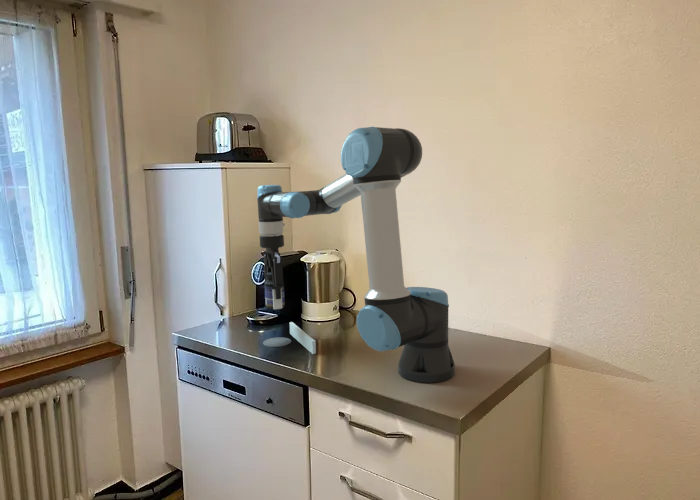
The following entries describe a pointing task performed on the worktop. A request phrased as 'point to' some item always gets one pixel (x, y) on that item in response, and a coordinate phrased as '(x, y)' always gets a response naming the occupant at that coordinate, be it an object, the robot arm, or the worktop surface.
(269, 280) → the pill bottle
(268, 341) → the coaster
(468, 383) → the worktop surface
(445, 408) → the worktop surface
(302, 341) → the divider wall
